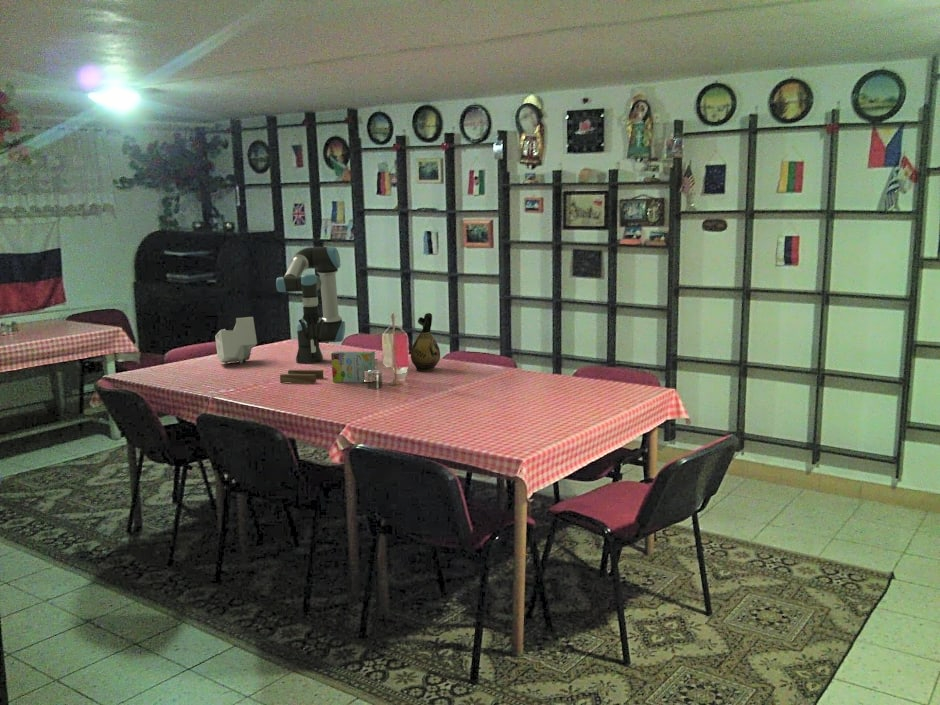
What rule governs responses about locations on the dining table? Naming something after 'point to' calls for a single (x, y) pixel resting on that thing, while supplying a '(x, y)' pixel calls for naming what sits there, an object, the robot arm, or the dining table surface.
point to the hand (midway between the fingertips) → (313, 352)
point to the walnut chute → (302, 376)
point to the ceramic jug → (425, 347)
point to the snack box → (351, 365)
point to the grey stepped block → (236, 341)
